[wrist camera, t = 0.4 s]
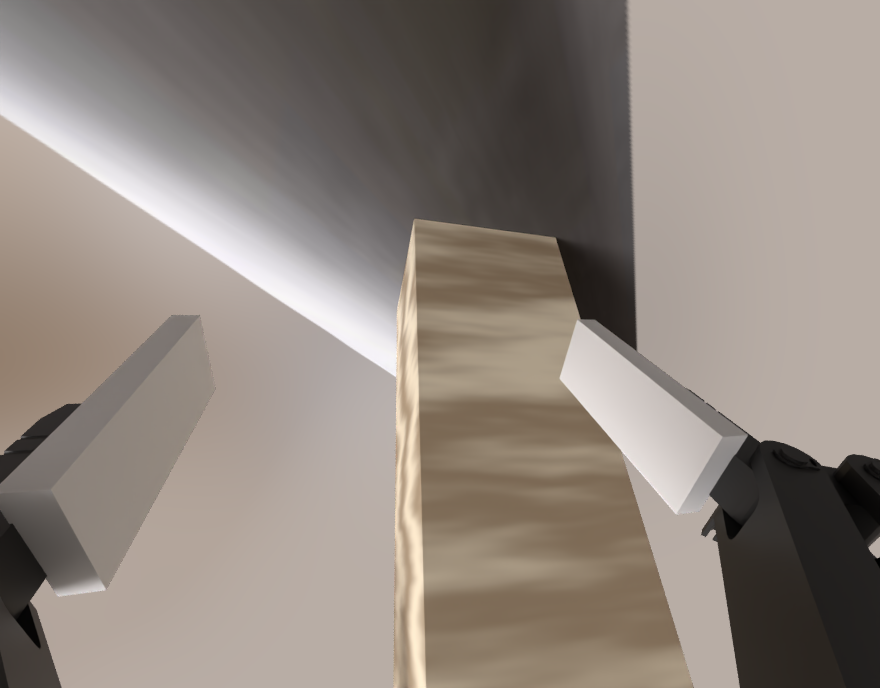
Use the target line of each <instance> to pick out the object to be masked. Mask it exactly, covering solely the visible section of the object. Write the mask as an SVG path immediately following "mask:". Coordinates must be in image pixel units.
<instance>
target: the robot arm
mask: <svg viewBox="0 0 880 688" xmlns="http://www.w3.org/2000/svg"><path fill="white" fill-rule="evenodd" d="M559 379H560V380H561V381H562V382H563V383H564V384H565V386H566V387H567V388H568V389H569V390H570V391H571V393H572V394H573V395H574V396H575V397H576V398H577V400H578V401H579V402H580V403H581V404H582V405H583V407H584V408H585V409H586V410H587V411H588V412H589V414H590V415H591V416H592V417H593V418H594V419H595V421H596V422H597V423H598V424H599V425H600V426H601V428H602V429H603V430H604V431H605V432H606V433H607V435H608V436H609V437H610V438H611V439H612V440H613V442H614V443H615V444H616V445H617V446H618V447H619V449H620V450H621V451H622V452H623V453H624V454H625V455H626V457H627V458H628V459H629V460H630V461H631V462H632V464H633V465H634V466H635V467H636V468H637V469H638V471H639V472H640V473H641V474H642V475H643V477H644V478H645V479H646V480H647V481H648V482H649V483H650V485H651V486H652V487H653V488H654V489H655V490H656V492H657V493H658V494H659V495H660V496H661V497H662V499H663V500H664V501H665V502H666V503H667V504H668V506H669V507H670V508H671V509H672V510H673V511H674V513H675V514H684V513H692V512H699V511H700V510H701V508H702V506H703V505H704V503H705V502H706V500H707V499H708V497H709V496H711V497H712V498H713V499H714V500H715V501H716V502H717V503H718V504H719V505H718V507H717V508H716V510H715V511H714V513H713V514H712V516H711V517H710V519H709V520H708V522H707V523H706V525H705V526H704V528H703V529H702V534H701V535H703V536H705V537H706V536H707V534H708V533H709V532H710V530H713V529H714V530H716V535H715V536H714V538H713V540H714V541H716V542H718V548H719V555H720V561H721V567H722V574H723V580H724V587H725V593H726V600H727V607H728V613H729V619H730V626H731V633H732V639H733V645H734V652H735V658H736V664H737V671H738V678H739V684H740V688H880V558H876V557H875V556H874V555H873V554H872V553H871V552H870V550H869V548H868V547H869V546H870V545H871V544H872V543H873V542H874V541H875V540H876V539H877V538H879V537H880V460H878V459H875V458H874V459H873V458H870V457H866V456H863V455H855V454H853V455H849V456H847V457H846V458H845V460H844V461H843V462H842V463H841V464H840V466H839V467H838V468H832V467H826V466H821V465H820V464H819V463H818V462H817V461H816V460H815V459H813V458H812V457H811V456H809V455H807V454H805V453H804V452H802V451H800V450H799V449H797V448H794V447H792V446H789V445H787V444H784V443H780V442H776V441H763V442H761V443H760V442H759V441H757V440H756V439H755V438H753V437H752V436H751V435H749V434H748V433H747V432H745V431H744V430H743V429H741V428H740V427H739V426H737V425H736V424H735V423H733V422H732V421H731V420H729V419H728V418H726V417H725V416H724V415H723V414H721V413H720V412H717V411H716V410H715V409H714V408H713V407H712V406H711V405H709V404H708V403H705V402H704V400H703V399H701V398H700V397H699V396H697V395H696V394H695V393H693V392H692V391H691V390H688V389H687V388H685V387H683V386H682V385H681V384H679V383H678V382H677V381H675V380H674V379H673V378H672V377H670V376H669V375H668V374H666V373H665V372H663V371H662V370H661V369H659V368H658V367H657V366H656V365H654V364H653V363H652V362H650V361H649V360H648V359H646V358H645V357H644V356H642V355H641V354H639V353H638V352H637V351H636V350H634V349H633V348H632V347H630V346H629V345H628V344H626V343H625V342H624V341H622V340H621V339H620V338H618V337H617V336H616V335H614V334H613V333H612V332H610V331H609V330H608V329H606V328H605V327H604V326H602V325H601V324H600V323H598V322H597V321H596V320H585V319H577V322H576V325H575V329H574V332H573V335H572V339H571V342H570V345H569V348H568V352H567V355H566V358H565V362H564V365H563V368H562V372H561V375H560V378H559ZM215 389H216V387H215V383H214V378H213V373H212V369H211V364H210V360H209V355H208V351H207V346H206V341H205V336H204V332H203V327H202V323H201V318H200V315H199V316H197V315H196V316H194V315H172V316H171V317H169V318H168V320H167V321H166V322H164V323H163V324H162V325H161V326H160V327H159V328H158V329H157V330H156V331H155V332H154V333H153V334H152V335H151V336H150V337H149V338H148V339H147V340H146V341H145V342H144V343H143V344H142V345H141V346H140V347H139V348H138V349H137V350H136V351H135V352H134V353H133V354H132V355H131V356H130V357H129V358H128V359H127V360H126V361H125V362H124V363H123V364H122V365H121V366H120V367H119V368H118V369H117V370H116V371H115V372H114V373H113V374H112V375H110V376H109V378H107V379H106V380H105V382H103V383H102V384H101V385H100V386H99V387H98V388H97V389H96V390H95V391H94V392H93V393H92V394H91V395H90V396H89V397H88V398H87V399H86V400H85V401H84V402H83V403H82V404H66V405H64V406H63V407H61V408H59V409H57V410H55V411H54V412H52V413H50V414H48V415H47V416H45V417H43V418H41V419H40V420H39V421H37V422H36V423H35V424H34V425H33V426H32V427H31V428H30V429H28V430H27V431H26V432H25V433H24V434H23V435H22V436H21V439H20V440H17V441H15V442H14V443H13V444H12V445H11V446H10V447H9V448H7V449H6V450H5V451H4V452H5V453H4V455H0V688H61V685H60V681H59V678H58V675H57V672H56V669H55V666H54V663H53V660H52V656H51V653H50V650H49V647H48V644H47V641H46V638H45V635H44V632H43V628H42V626H41V622H40V619H39V616H38V613H37V610H36V609H35V607H34V606H33V605H32V603H31V602H30V600H31V598H32V597H33V596H34V594H35V593H36V591H37V590H38V589H39V587H40V586H41V584H42V583H43V581H44V580H45V578H46V580H47V581H48V582H49V584H50V585H51V587H52V588H53V590H54V591H55V593H56V594H57V596H65V595H73V594H81V593H88V592H96V591H103V590H106V589H107V588H108V586H109V584H110V582H111V581H112V579H113V577H114V575H115V573H116V571H117V569H118V567H119V566H120V564H121V562H122V560H123V558H124V557H125V555H126V553H127V551H128V549H129V547H130V546H131V544H132V542H133V540H134V538H135V536H136V535H137V533H138V531H139V529H140V527H141V525H142V523H143V522H144V520H145V518H146V516H147V514H148V513H149V511H150V509H151V507H152V505H153V503H154V501H155V500H156V498H157V496H158V494H159V492H160V490H161V488H162V487H163V485H164V483H165V481H166V479H167V477H168V476H169V474H170V472H171V470H172V468H173V466H174V465H175V463H176V461H177V459H178V457H179V455H180V454H181V452H182V450H183V448H184V446H185V445H186V443H187V441H188V439H189V437H190V435H191V433H192V432H193V430H194V428H195V426H196V424H197V422H198V421H199V419H200V417H201V415H202V413H203V411H204V410H205V407H206V406H207V404H208V402H209V400H210V399H211V397H212V395H213V393H214V391H215Z"/></svg>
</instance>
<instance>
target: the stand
mask: <svg viewBox="0 0 880 688" xmlns="http://www.w3.org/2000/svg"><path fill="white" fill-rule="evenodd" d="M577 319H580V316H579V313H578V309H577V306H576V303H575V300H574V296H573V293H572V290H571V287H570V283H569V280H568V277H567V274H566V270H565V267H564V264H563V261H562V257H561V254H560V251H559V248H558V244H557V241H556V238H555V237H547V236H540V235H533V234H525V233H518V232H510V231H503V230H496V229H488V228H481V227H473V226H466V225H459V224H451V223H444V222H436V221H429V220H422V219H414V223H413V229H412V234H411V239H410V245H409V250H408V255H407V261H406V266H405V271H404V277H403V282H402V287H401V293H400V298H399V303H398V308H397V376H396V380H397V381H396V386H397V387H396V482H395V492H396V493H395V591H394V688H694V687H693V683H692V680H691V677H690V674H689V670H688V667H687V664H686V661H685V658H684V654H683V651H682V648H681V645H680V641H679V638H678V635H677V631H676V628H675V625H674V622H673V618H672V615H671V612H670V609H669V605H668V602H667V599H666V596H665V592H664V589H663V586H662V583H661V579H660V576H659V573H658V570H657V566H656V563H655V560H654V557H653V553H652V550H651V547H650V544H649V540H648V537H647V534H646V531H645V527H644V524H643V521H642V517H641V514H640V511H639V508H638V504H637V502H636V498H635V495H634V492H633V489H632V485H631V482H630V479H629V475H628V472H627V469H626V466H625V462H624V459H623V456H622V453H621V450H620V449H619V447H618V446H617V445H616V444H615V443H614V442H613V440H612V439H611V438H610V437H609V436H608V435H607V433H606V432H605V431H604V430H603V429H602V428H601V426H600V425H599V424H598V423H597V422H596V421H595V419H594V418H593V417H592V416H591V415H590V414H589V412H588V411H587V410H586V409H585V408H584V407H583V405H582V404H581V403H580V402H579V401H578V400H577V398H576V397H575V396H574V395H573V394H572V393H571V391H570V390H569V389H568V388H567V387H566V386H565V384H564V383H563V382H562V381H561V380H560V379H559V378H560V375H561V372H562V368H563V365H564V362H565V358H566V355H567V352H568V348H569V345H570V342H571V339H572V335H573V332H574V329H575V325H576V322H577Z"/></svg>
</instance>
